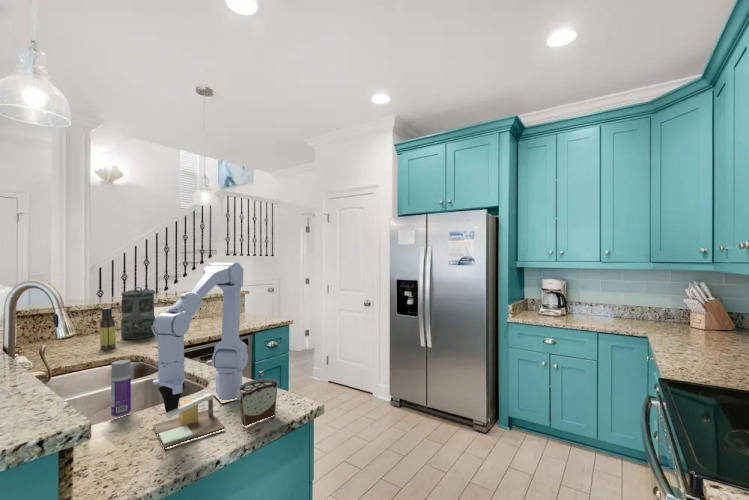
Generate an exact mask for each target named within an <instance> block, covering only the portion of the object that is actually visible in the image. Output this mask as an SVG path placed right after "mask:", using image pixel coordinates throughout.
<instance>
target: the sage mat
mask: <svg viewBox="0 0 749 500" xmlns="http://www.w3.org/2000/svg"><path fill="white" fill-rule="evenodd" d="M159 436H160V438H161V440H162V442H163V444H164V445H165V444H168V443H172V442H175V441H178V440H181V439H184V438H187V437H191V436H193V433H192V432H191V431H190V429H189V428H188V426H187V425H185V426H182V427H179V428H175V429H172V430H168V431H165V432H162V433H159Z"/></svg>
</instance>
